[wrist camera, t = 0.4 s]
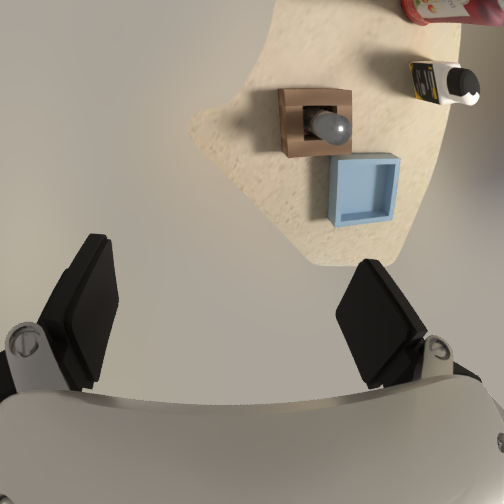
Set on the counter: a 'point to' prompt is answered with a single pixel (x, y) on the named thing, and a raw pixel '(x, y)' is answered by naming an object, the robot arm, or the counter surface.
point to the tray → (362, 188)
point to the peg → (327, 125)
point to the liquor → (455, 11)
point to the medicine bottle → (444, 82)
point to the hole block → (293, 120)
